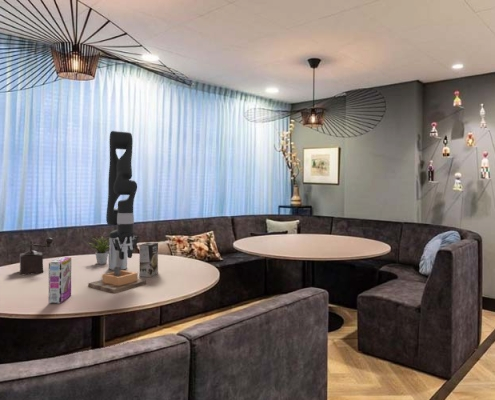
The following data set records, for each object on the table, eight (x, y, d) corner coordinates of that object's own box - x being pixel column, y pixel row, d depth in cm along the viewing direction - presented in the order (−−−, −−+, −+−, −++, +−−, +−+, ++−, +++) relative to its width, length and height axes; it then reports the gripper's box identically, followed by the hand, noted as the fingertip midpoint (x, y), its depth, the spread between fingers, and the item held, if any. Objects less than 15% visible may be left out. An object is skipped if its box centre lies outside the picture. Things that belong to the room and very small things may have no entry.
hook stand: (88, 286, 173) (88, 266, 173) (120, 278, 188) (120, 260, 188) (113, 293, 164) (113, 272, 163) (145, 283, 179) (145, 264, 178)
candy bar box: (61, 304, 149) (61, 262, 148) (48, 304, 148) (47, 262, 147) (72, 295, 160) (71, 256, 159) (59, 295, 159) (59, 256, 158)
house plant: (106, 258, 234) (106, 232, 233) (120, 261, 226) (120, 234, 225) (85, 262, 222) (85, 235, 222) (99, 266, 214) (98, 237, 214)
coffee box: (150, 277, 191) (150, 245, 190) (139, 276, 192) (138, 244, 192) (158, 273, 200) (158, 242, 199) (147, 272, 201) (147, 242, 200)
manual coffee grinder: (20, 275, 192) (19, 240, 191) (19, 271, 201) (18, 237, 200) (54, 271, 200) (54, 237, 199) (52, 267, 209) (51, 235, 208)
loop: (102, 282, 176) (102, 274, 175) (121, 277, 185) (121, 269, 185) (118, 285, 170) (118, 277, 170) (137, 280, 179) (137, 273, 179)
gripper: (132, 220, 187) (132, 255, 187) (107, 223, 175) (107, 260, 176) (142, 221, 183) (142, 257, 183) (118, 224, 171) (118, 262, 172)
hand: (125, 258), depth 179 cm, fingers open, 4 cm apart
